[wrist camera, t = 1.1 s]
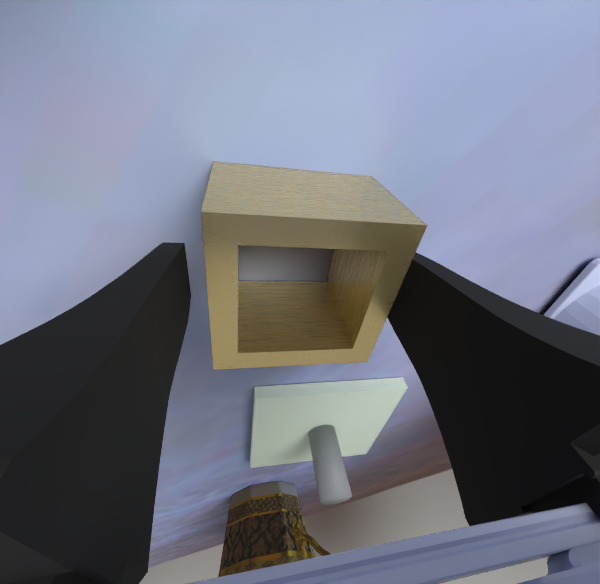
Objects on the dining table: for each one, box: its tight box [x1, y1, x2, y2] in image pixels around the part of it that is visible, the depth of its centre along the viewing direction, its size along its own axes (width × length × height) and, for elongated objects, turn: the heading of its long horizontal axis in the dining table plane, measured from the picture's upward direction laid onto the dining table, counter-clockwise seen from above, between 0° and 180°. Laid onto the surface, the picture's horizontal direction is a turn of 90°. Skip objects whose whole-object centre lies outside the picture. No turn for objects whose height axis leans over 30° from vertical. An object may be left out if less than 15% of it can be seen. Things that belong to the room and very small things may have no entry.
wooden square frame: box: [201, 162, 427, 370], centre depth 10 cm, size 6×6×4 cm
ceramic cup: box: [218, 481, 330, 577], centre depth 25 cm, size 13×10×10 cm
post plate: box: [250, 377, 408, 505], centre depth 20 cm, size 10×10×5 cm
